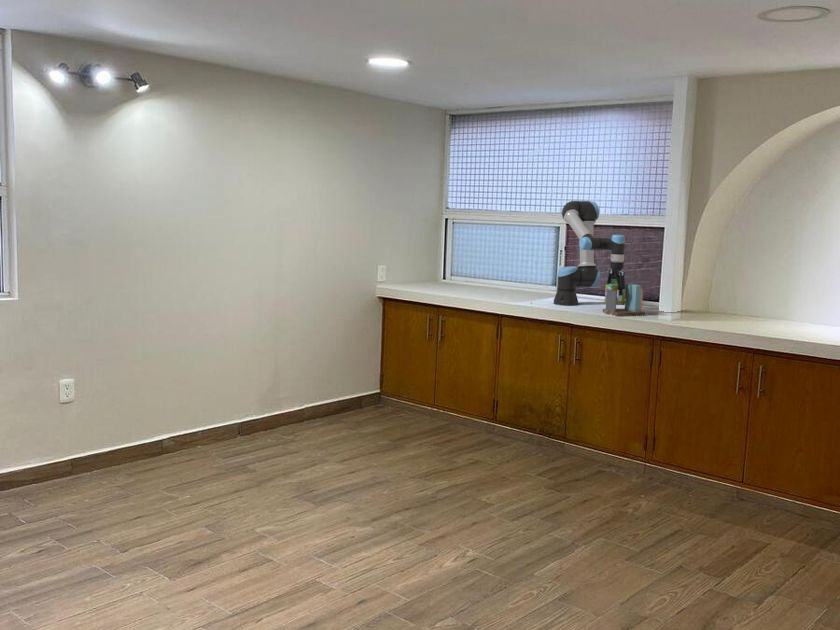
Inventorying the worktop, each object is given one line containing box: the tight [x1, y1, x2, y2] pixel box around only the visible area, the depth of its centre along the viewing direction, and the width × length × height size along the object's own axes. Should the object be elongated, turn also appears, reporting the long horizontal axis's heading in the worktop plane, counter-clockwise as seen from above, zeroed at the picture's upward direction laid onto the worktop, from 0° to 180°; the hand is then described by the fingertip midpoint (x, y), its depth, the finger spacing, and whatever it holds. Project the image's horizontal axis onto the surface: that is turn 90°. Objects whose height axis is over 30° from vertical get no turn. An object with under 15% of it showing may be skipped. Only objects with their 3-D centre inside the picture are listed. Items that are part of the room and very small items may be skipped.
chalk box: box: [604, 279, 626, 306], centre depth 470 cm, size 9×9×15 cm
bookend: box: [605, 289, 617, 312], centre depth 463 cm, size 10×1×12 cm, turn 17°
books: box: [624, 283, 644, 312], centre depth 467 cm, size 11×5×15 cm, turn 17°
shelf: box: [602, 308, 646, 317], centre depth 466 cm, size 16×18×2 cm
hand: (614, 299), depth 471 cm, fingers closed on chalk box, 9 cm apart
